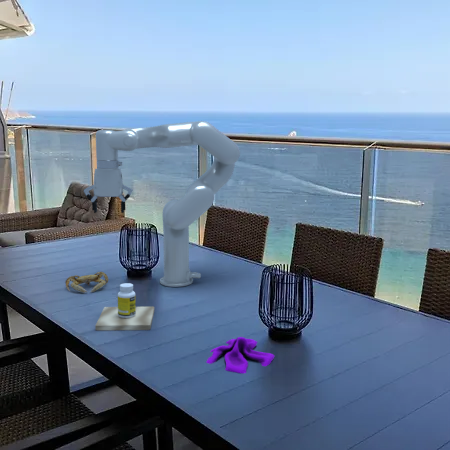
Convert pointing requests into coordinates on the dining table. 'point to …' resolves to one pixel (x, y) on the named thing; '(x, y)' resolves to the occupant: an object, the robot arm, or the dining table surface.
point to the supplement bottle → (126, 301)
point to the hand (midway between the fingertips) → (109, 212)
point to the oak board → (125, 319)
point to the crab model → (87, 281)
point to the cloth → (240, 355)
